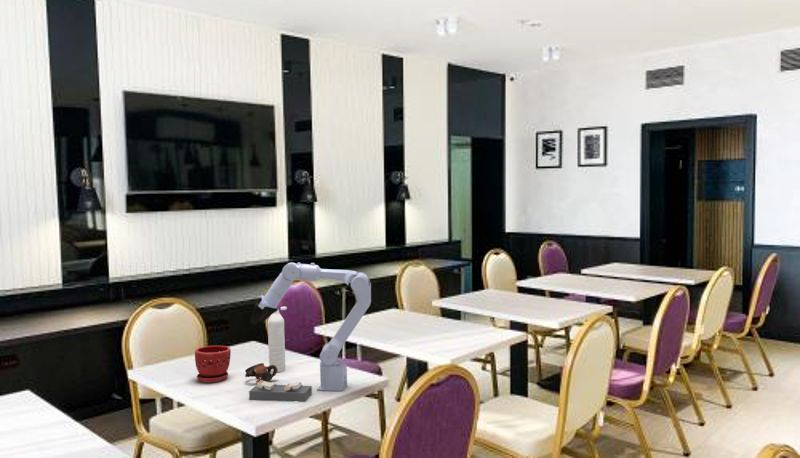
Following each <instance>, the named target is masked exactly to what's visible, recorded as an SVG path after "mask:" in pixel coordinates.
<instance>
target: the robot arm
mask: <svg viewBox="0 0 800 458" xmlns="http://www.w3.org/2000/svg"><path fill="white" fill-rule="evenodd" d="M295 279H297V280H301V281H312V282H313V281H314V282H317V281H318V280H319V279H328V280H336V281H337V280H339V281H342V282H343V283H345V285H347V286H349V284H350V288H351V290H352V291H353V293H354V294H355V297H356V298H355V299H356V302H355V304H354V306H353V307H352V308H351V310H350V312H349V313H348V315H347V316H346V318H345V320H343V322H342V323H341V325H340V326H339V328H338V329H337V331H336V333H334V335H333V337H332V338H331V339H330V341H329V342H327V343H325V344H324V345H323V346H322V348H321V349H322V350H321V352H320V354H319V360H320V362H319V373H320V375H319V377H320V380H319V381H320V384H319V386H318V387H317V388H316V390H317V391H329V392H330V391H333V392H342V390H343V389H344V390H345V388H346V387H347V386H348V385H347V384H348V374H347V373H348V369H347V368H348V367H347V365H346V364H345V363H341V361H340V360H339V358H338V357H339V353H340V351H341V350H342V348H343V347H344V345H345V343H346V342H347V340H348V339H349V337H350V336H351V335H352V332H353V331H354V329H355V328H356V326H357V325H358V324H359V322H360V321H361V319H362V318H363V317H364V315H365V314H366V312H367V310H369V307H370V306H371V303H372V283H371V281H370V278H369V276H368V275H367V274H366V273H365V272H364V271H363V272H362V271H356V270H352V269H330V268H329V269H328V268H321V267H320V266H319V265H318V264H315V262H311V263H310V264H307V263H301V262H297V263H295V262H288V263H287V264H285V265H284V266H283V268H282V270H281V272H280V273H279V275H278V276H277V278H275V280H274V281H273V283H272V284H271V286H270V288H269V289H268V290H267V292H266V293H265V295H263V294H262V295H260V296H259V298H260V299H261V301H260V302H259V303H258V302H255V304H254V305H253V306H254V308H253V312H252V315H251V318H250V320H249V323H250V324H252V325H253V326H256V325H257V324H258V323H259V322H260V323H261V324H263V323H264V322H265V321H266V320H267V319H269V318H270V316H271V315H272V314H273V313H274V312H276V311H279V308H278V305H279V304H280V302H281V300H282V299H283V298H284V296H285V295H286V293H287V292H288V290H289V289H290V288H291V286H292V283H293V282H294V280H295ZM346 385H347V386H346ZM344 390H343V391H344Z"/></svg>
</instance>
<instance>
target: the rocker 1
mask: <svg viewBox="0 0 800 458" xmlns="http://www.w3.org/2000/svg"><path fill="white" fill-rule="evenodd" d="M270 382H271V381H270ZM270 382H266V381H262V380H261V381H259V382H258V383H256V385H257V387H260V388H262V389H267V390H271V389H272V388H273V387H274V384H275V383H273V382H271V383H270Z"/></svg>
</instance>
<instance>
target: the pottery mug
mask: <svg viewBox="0 0 800 458" xmlns="http://www.w3.org/2000/svg"><path fill="white" fill-rule="evenodd" d="M271 369H274V371H273V372H270V371H271ZM277 370H278V369H277V368H276V366H275V365H270V366H269V365H268V366H266V365H265V364H264V363H256V364H254V365H252V366H250V367H248V368H246V369H245V375H244V377H245V378H250V377H252V378H253V377H255V379H257V380H256V381H255V383H256V384H257V383H258V382H259V381H261V380H262V381H266V382H270V383H272V382H271V380H272V379H273V378H274V377H275V376H276V375H277V373H278V372H277Z"/></svg>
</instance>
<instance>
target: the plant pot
mask: <svg viewBox="0 0 800 458" xmlns="http://www.w3.org/2000/svg"><path fill="white" fill-rule="evenodd" d="M231 353H232V352H231V348H230V347H229V346H226V345H207V346H202V347H198V348H196V349H195V351H194V361H195V367H196V370H197V372H198V374H196V378H197V380H199V382H202V383H216V382H217V383H218V382H221V381H224V380H225V379H227V378H228V376H229V372H228V370H229V366H230V363H231Z"/></svg>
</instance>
